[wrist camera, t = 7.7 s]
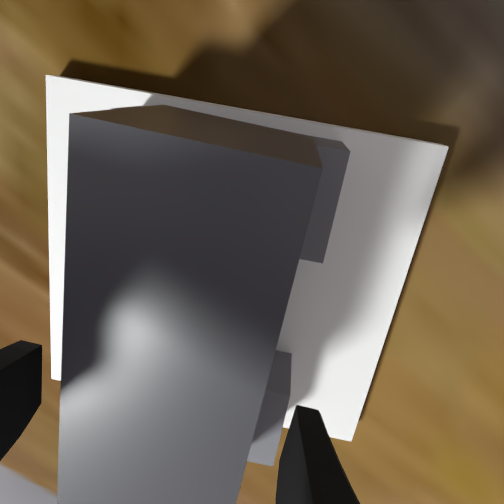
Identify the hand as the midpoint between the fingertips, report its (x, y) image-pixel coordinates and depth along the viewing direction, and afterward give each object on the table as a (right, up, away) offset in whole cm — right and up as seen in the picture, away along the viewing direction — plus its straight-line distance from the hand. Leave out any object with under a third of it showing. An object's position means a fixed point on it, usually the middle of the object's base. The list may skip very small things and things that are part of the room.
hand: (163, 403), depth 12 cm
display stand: (+1, +3, +8) cm, 9 cm away
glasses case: (+1, +2, +5) cm, 5 cm away
